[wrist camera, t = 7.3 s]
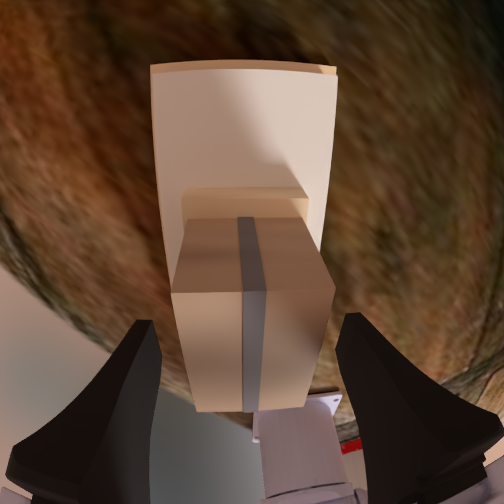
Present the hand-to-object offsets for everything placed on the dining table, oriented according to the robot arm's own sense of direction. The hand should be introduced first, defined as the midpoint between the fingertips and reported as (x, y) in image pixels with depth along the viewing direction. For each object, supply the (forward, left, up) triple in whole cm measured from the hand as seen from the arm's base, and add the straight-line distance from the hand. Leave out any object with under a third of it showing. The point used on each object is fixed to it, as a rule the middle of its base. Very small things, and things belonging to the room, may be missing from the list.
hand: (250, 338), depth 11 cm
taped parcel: (0, 0, -4) cm, 4 cm away
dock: (0, 0, -6) cm, 6 cm away
